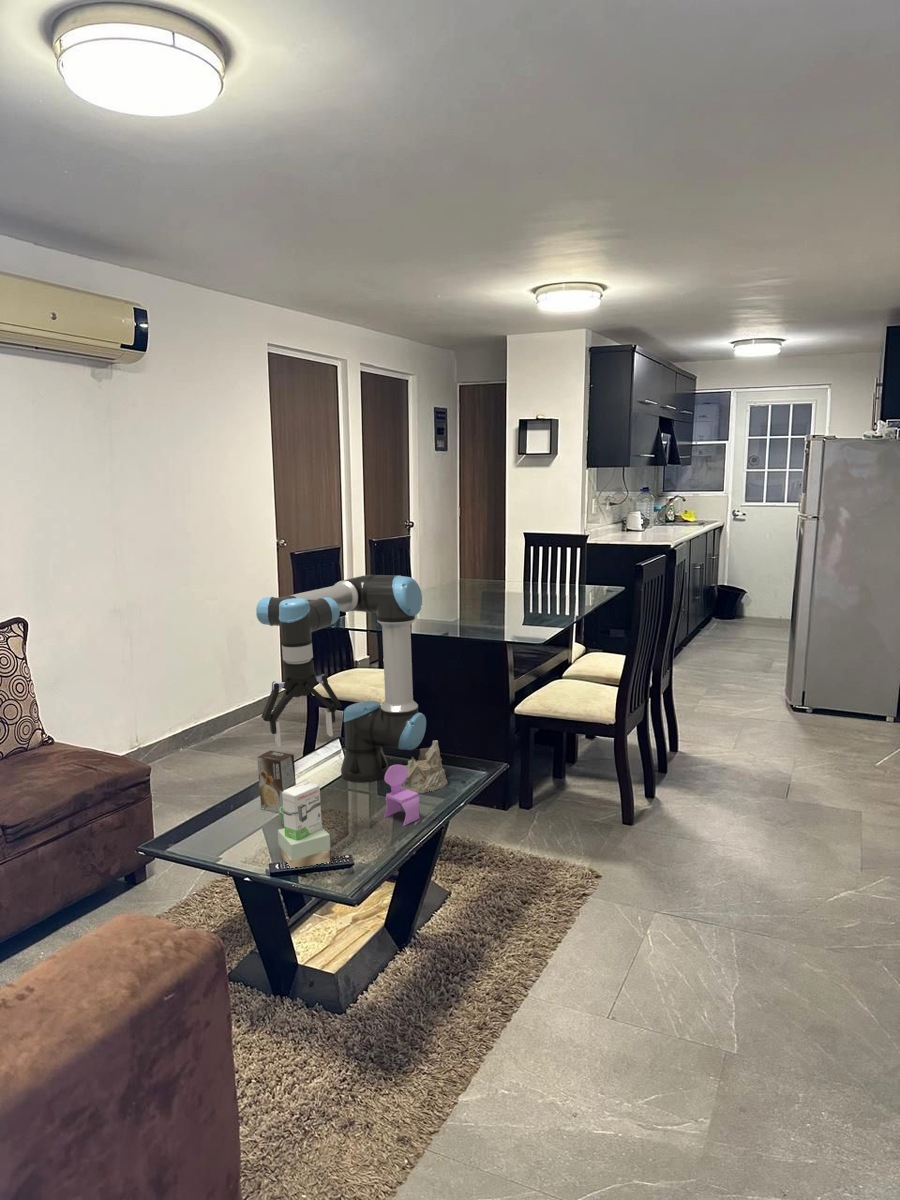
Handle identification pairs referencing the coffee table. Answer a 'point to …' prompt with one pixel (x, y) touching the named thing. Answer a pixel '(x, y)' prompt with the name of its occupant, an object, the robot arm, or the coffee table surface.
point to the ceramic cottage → (425, 771)
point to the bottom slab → (307, 859)
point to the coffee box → (275, 778)
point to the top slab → (304, 844)
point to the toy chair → (400, 795)
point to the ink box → (301, 810)
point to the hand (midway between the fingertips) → (304, 740)
